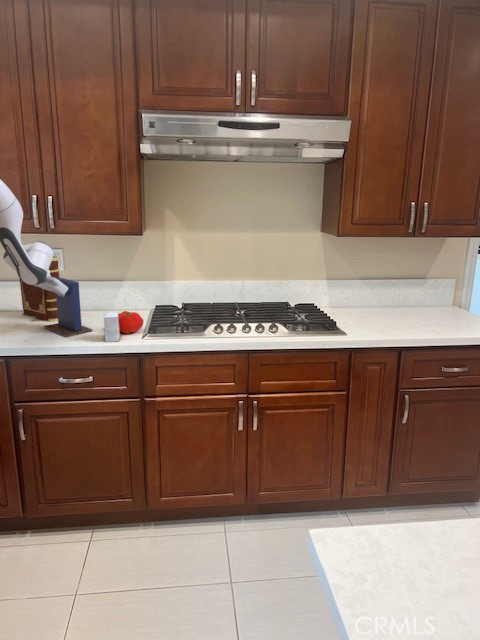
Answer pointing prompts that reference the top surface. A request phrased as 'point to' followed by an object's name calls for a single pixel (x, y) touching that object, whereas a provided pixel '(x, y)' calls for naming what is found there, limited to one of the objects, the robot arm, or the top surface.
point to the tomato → (129, 322)
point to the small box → (111, 327)
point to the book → (69, 306)
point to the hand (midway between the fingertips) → (63, 295)
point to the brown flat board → (66, 330)
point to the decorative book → (41, 298)
